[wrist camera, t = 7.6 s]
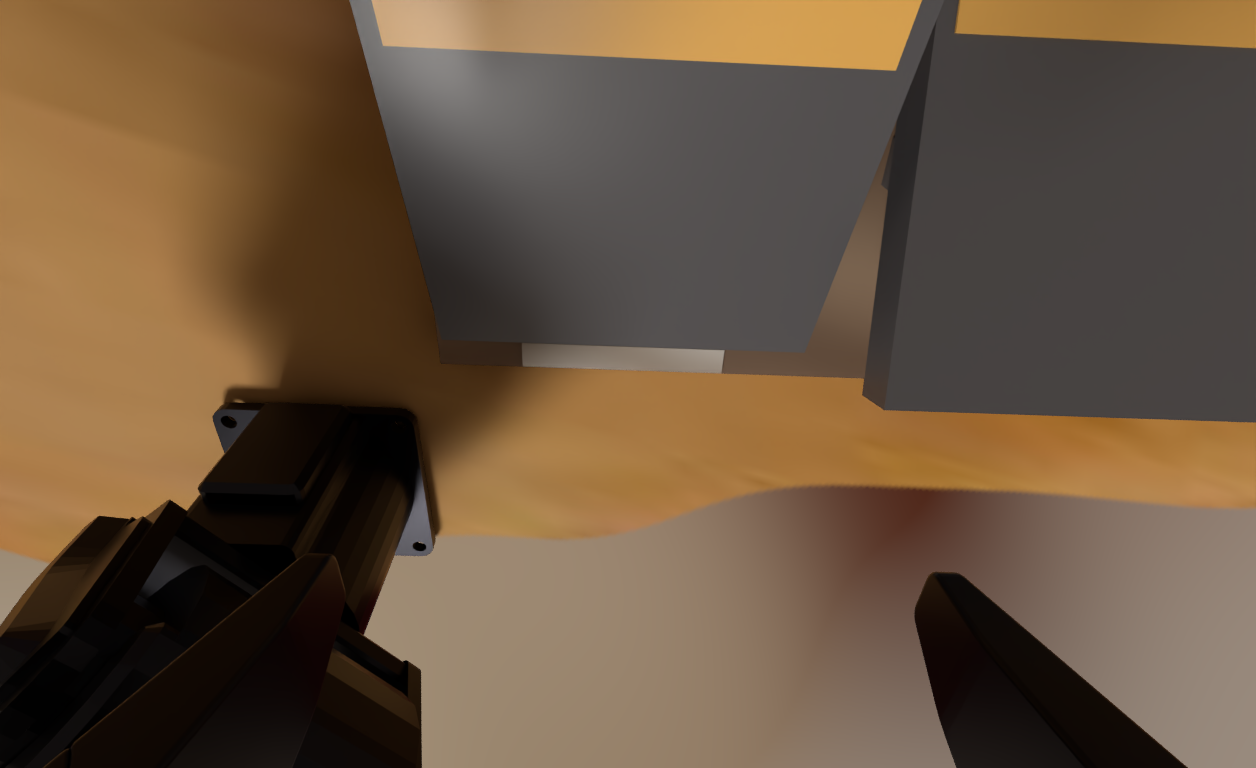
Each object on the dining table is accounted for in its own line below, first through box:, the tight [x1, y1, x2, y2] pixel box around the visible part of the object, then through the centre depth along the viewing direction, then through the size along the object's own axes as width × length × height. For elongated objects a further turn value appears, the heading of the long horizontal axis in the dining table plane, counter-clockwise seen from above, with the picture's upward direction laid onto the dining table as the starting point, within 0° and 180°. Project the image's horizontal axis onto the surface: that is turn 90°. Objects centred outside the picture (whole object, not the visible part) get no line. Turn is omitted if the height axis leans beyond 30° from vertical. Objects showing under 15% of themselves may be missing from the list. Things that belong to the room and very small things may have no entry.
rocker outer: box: [862, 0, 1256, 422], centre depth 15 cm, size 10×10×2 cm
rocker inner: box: [350, 0, 944, 353], centre depth 15 cm, size 10×10×2 cm
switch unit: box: [434, 121, 897, 378], centre depth 17 cm, size 13×22×2 cm, turn 87°
